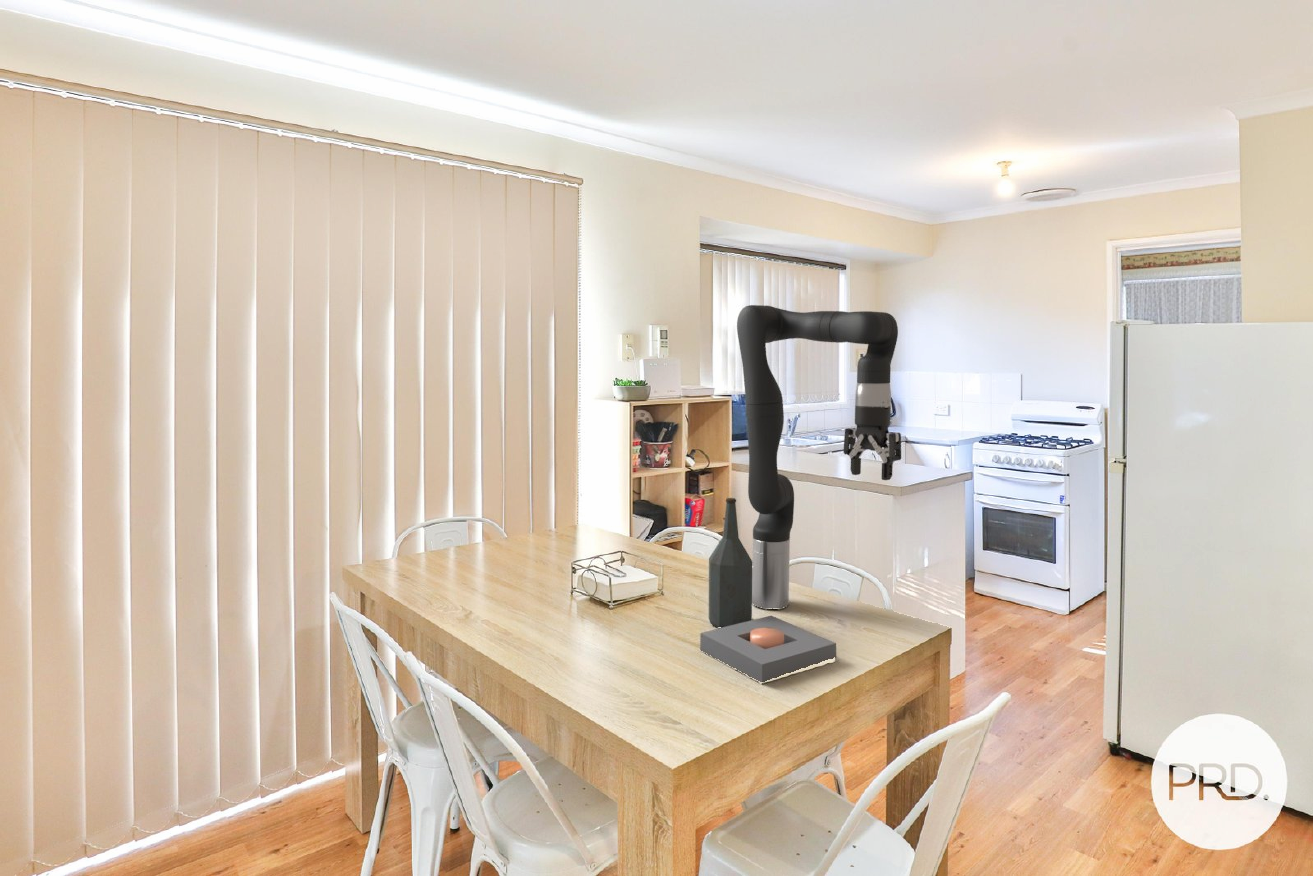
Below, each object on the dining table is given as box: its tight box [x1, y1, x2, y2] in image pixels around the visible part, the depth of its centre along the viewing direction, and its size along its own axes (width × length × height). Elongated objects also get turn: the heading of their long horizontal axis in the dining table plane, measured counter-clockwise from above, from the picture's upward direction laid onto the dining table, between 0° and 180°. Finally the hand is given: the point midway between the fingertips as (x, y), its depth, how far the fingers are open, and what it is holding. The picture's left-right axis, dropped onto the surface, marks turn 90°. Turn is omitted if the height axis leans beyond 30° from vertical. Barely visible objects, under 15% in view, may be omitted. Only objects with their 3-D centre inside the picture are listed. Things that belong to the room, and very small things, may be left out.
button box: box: [699, 615, 837, 682], centre depth 159 cm, size 20×20×4 cm
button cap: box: [750, 628, 784, 649], centre depth 159 cm, size 7×7×4 cm
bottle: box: [708, 497, 753, 628], centre depth 177 cm, size 10×10×30 cm
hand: (870, 477), depth 167 cm, fingers open, 8 cm apart
